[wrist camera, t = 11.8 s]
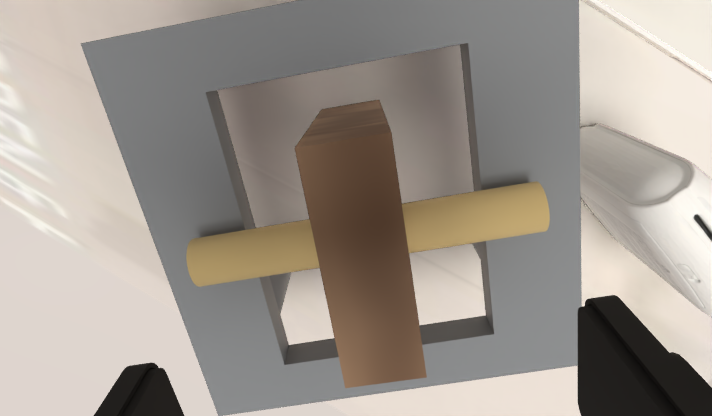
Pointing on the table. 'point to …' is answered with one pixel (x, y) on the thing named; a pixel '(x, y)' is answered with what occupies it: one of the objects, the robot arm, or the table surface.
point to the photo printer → (651, 207)
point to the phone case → (647, 36)
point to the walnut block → (362, 243)
